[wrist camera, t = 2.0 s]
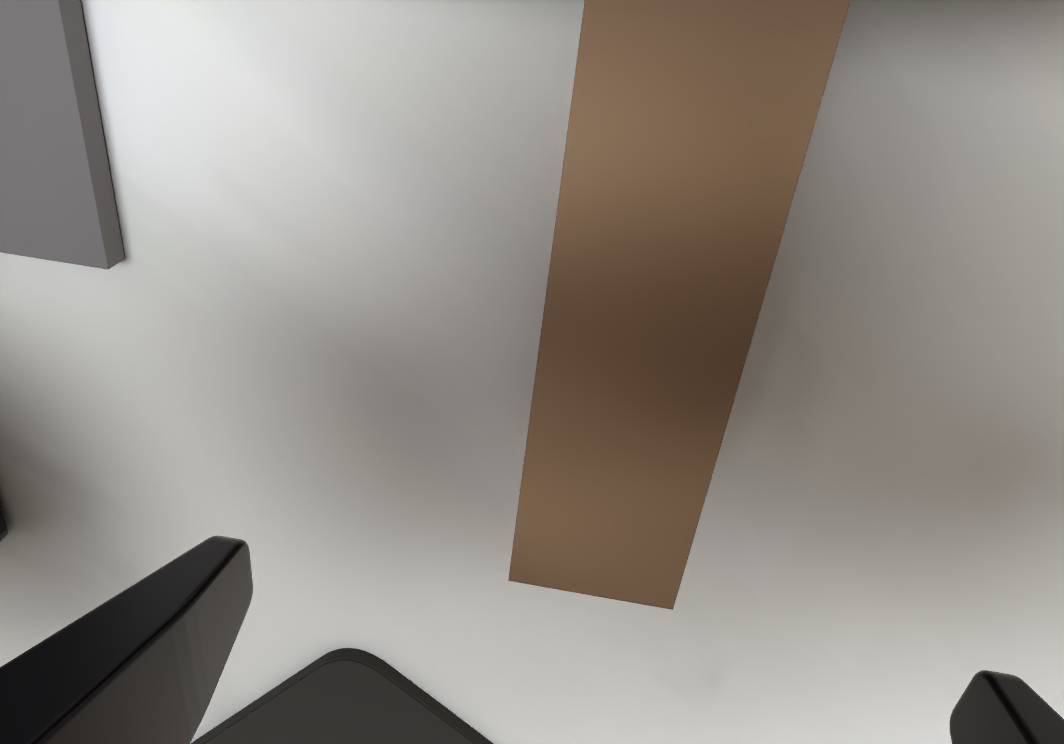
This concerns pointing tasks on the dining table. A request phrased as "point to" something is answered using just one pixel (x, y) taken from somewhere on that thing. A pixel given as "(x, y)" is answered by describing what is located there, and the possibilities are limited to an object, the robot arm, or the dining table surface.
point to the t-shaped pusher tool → (659, 276)
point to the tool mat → (52, 140)
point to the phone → (345, 709)
